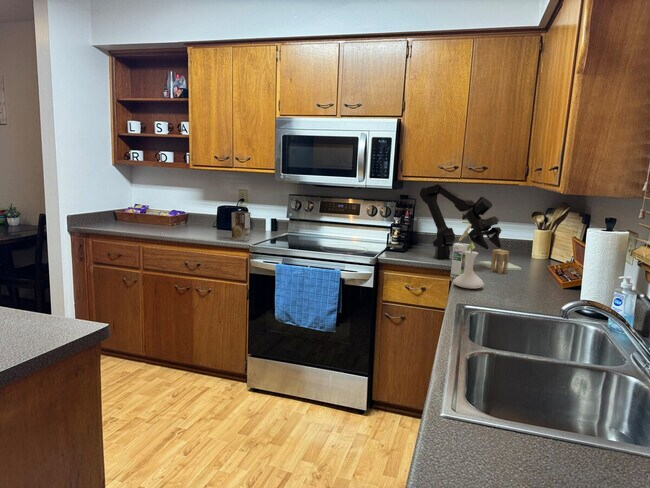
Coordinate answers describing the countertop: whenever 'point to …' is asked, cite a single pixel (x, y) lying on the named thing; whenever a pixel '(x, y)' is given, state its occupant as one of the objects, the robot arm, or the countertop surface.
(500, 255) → the wooden footstool
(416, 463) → the countertop surface
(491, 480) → the countertop surface
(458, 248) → the syrup box
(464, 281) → the flower in vase
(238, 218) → the coffee box
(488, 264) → the board
